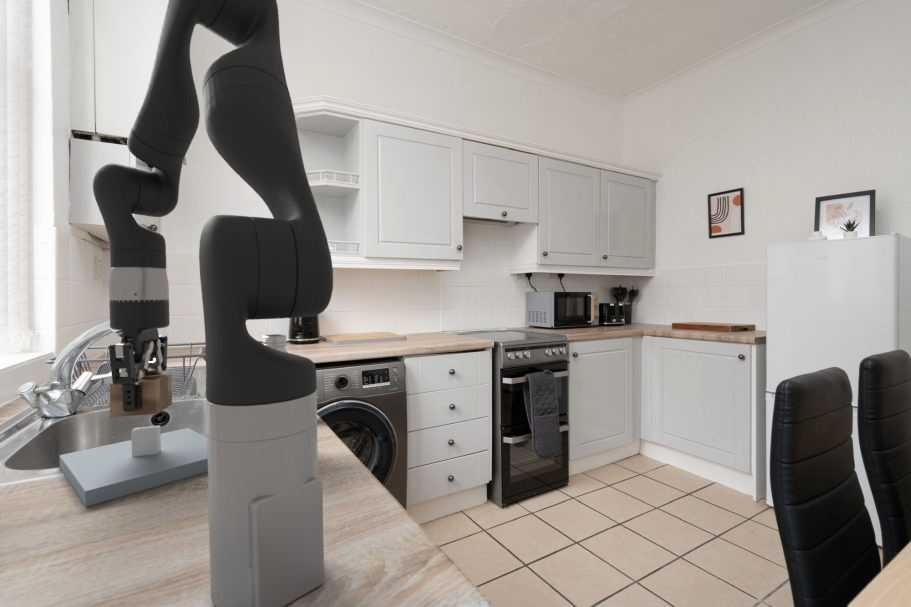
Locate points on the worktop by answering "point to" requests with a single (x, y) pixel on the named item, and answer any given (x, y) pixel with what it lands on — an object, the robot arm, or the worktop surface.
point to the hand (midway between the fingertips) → (142, 405)
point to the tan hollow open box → (144, 396)
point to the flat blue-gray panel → (135, 463)
